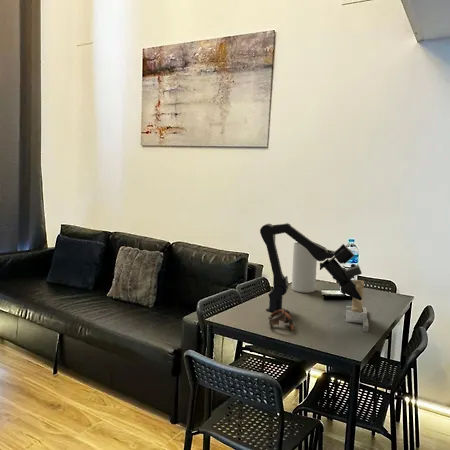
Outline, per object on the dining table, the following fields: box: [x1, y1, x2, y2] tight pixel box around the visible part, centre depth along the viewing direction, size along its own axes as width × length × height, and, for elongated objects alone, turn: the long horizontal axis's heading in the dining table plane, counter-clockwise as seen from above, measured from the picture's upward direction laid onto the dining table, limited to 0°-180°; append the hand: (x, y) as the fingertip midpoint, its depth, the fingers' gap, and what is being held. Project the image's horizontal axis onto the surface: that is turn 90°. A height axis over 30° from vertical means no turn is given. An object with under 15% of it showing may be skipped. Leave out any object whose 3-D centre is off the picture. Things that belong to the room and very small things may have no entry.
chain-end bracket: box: [345, 305, 370, 333], centre depth 188 cm, size 9×28×4 cm, turn 165°
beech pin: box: [351, 279, 365, 312], centre depth 188 cm, size 4×4×14 cm
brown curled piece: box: [267, 309, 295, 332], centre depth 176 cm, size 12×10×8 cm
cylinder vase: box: [291, 241, 318, 294], centre depth 234 cm, size 12×12×25 cm
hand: (361, 298), depth 187 cm, fingers closed on beech pin, 4 cm apart
